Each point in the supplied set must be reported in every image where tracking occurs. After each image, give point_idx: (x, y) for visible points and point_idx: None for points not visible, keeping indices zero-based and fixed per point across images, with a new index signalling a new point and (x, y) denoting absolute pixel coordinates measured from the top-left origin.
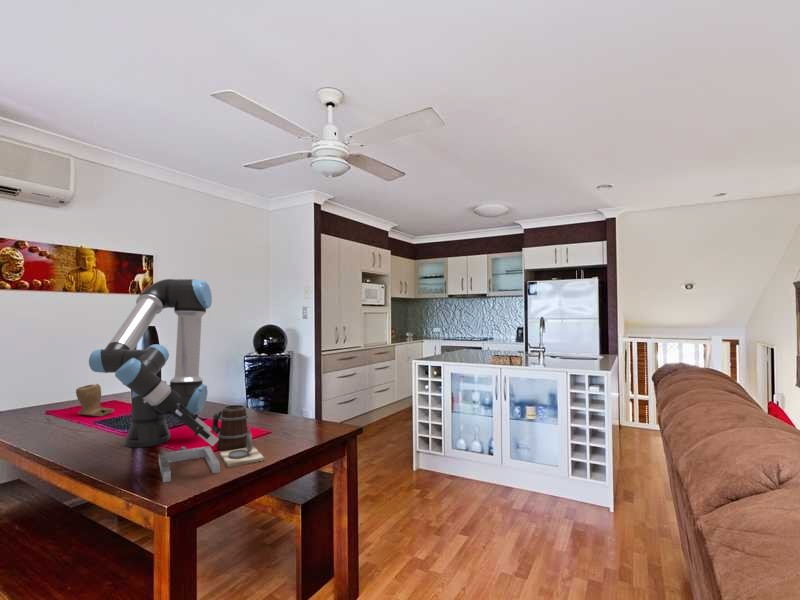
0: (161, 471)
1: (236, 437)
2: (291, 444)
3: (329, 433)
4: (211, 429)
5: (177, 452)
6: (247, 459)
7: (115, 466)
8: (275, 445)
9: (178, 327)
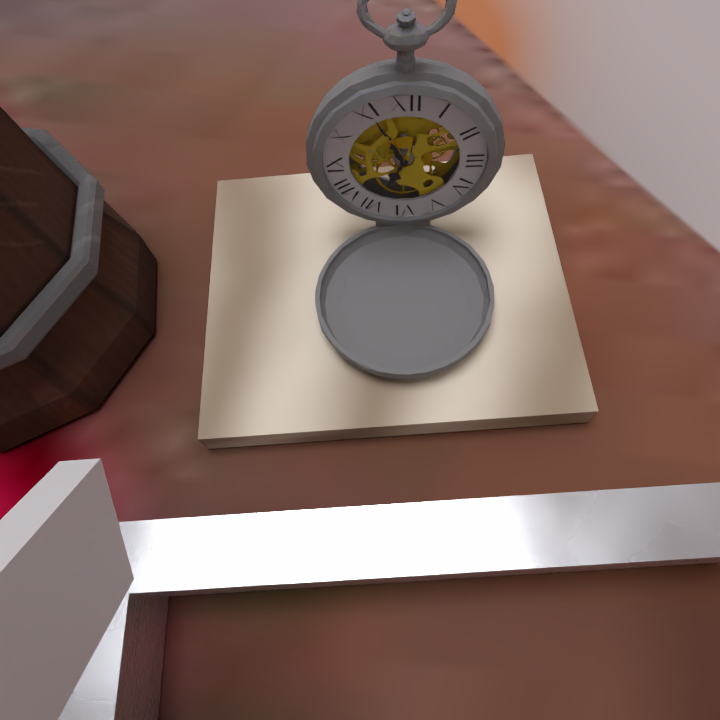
0: None
1: (98, 241)
2: (256, 10)
3: None
4: (99, 462)
5: None
6: (535, 256)
7: None
8: (216, 80)
9: None
